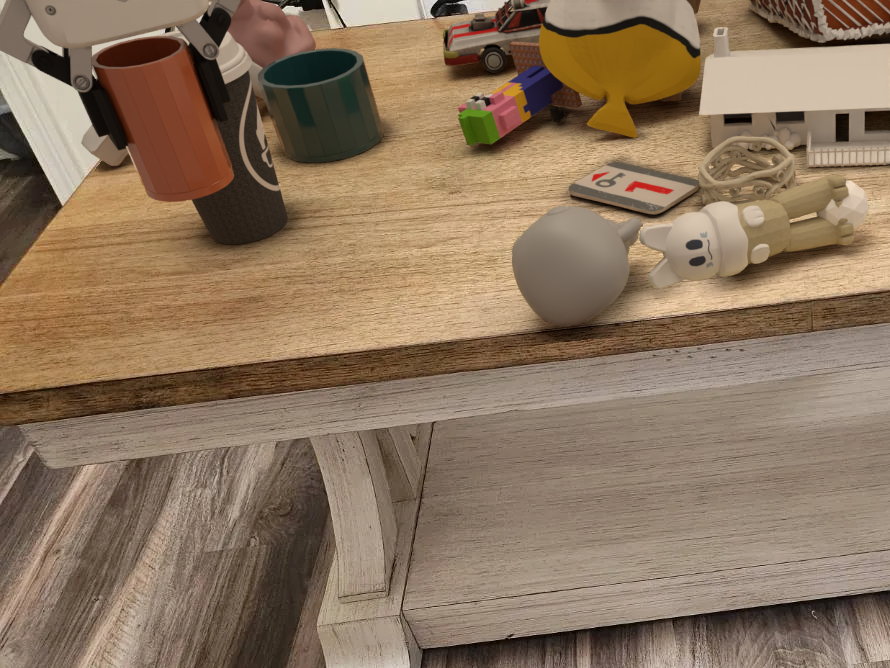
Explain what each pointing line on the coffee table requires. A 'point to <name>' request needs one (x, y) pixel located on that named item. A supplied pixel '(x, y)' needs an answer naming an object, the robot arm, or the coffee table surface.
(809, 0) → the gingerbread house
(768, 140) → the bracelet
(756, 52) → the house
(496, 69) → the toy car
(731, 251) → the rabbit figurine
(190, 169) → the cup
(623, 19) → the fish
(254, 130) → the coffee cup
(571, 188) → the token
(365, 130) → the teal round container
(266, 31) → the figurine
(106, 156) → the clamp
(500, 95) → the figurine
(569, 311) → the figurine
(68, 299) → the coffee table surface
